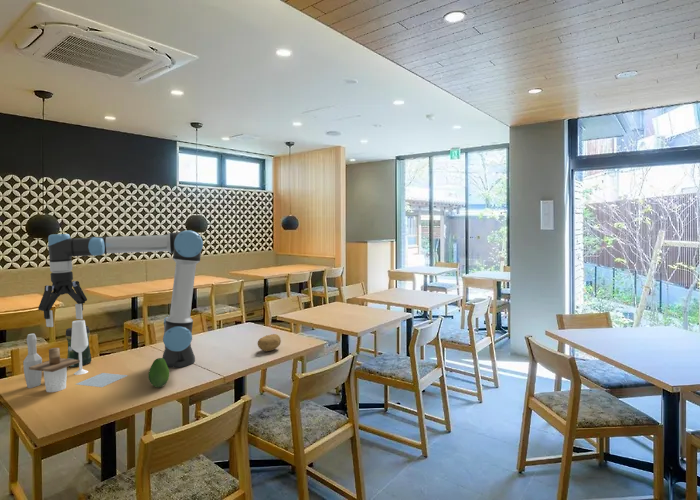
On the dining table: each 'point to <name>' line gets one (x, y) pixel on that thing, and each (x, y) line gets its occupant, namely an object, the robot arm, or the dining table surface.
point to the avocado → (158, 373)
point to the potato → (269, 342)
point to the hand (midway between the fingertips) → (65, 322)
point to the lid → (54, 362)
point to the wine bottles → (75, 355)
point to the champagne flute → (79, 341)
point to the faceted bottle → (32, 363)
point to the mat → (101, 380)
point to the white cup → (55, 380)
